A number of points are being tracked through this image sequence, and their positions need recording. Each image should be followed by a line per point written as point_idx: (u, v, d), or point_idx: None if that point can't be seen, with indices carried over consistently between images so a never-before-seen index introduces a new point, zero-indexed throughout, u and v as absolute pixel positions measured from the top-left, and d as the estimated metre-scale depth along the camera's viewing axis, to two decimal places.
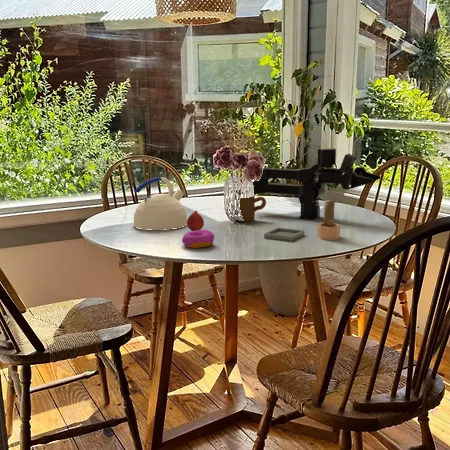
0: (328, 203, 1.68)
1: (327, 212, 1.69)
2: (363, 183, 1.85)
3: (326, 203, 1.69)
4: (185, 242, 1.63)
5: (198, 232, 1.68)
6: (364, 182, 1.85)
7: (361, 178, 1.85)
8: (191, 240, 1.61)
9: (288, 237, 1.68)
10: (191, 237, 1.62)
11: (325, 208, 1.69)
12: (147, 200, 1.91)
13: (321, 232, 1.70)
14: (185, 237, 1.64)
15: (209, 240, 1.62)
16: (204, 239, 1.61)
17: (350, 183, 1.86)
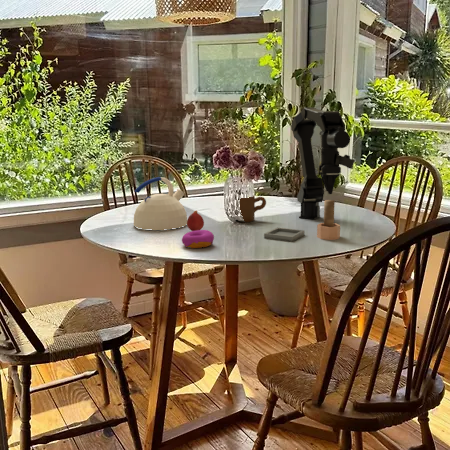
0: (328, 203, 1.68)
1: (327, 212, 1.69)
2: (327, 185, 1.79)
3: (326, 203, 1.69)
4: (185, 242, 1.63)
5: (198, 232, 1.68)
6: (328, 186, 1.79)
7: (332, 183, 1.79)
8: (191, 240, 1.61)
9: (288, 237, 1.68)
10: (191, 237, 1.62)
11: (325, 208, 1.69)
12: (147, 200, 1.91)
13: (321, 232, 1.70)
14: (185, 237, 1.63)
15: (209, 240, 1.62)
16: (204, 239, 1.61)
17: (328, 174, 1.76)
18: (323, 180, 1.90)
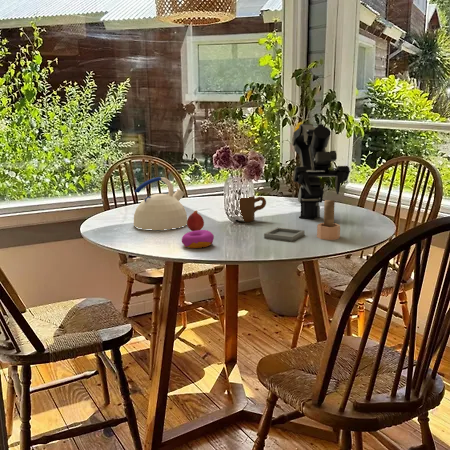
0: (328, 203, 1.68)
1: (327, 212, 1.69)
2: (306, 188, 1.80)
3: (326, 203, 1.69)
4: (185, 242, 1.63)
5: (198, 232, 1.68)
6: (306, 189, 1.79)
7: (306, 183, 1.79)
8: (191, 240, 1.61)
9: (288, 237, 1.68)
10: (191, 237, 1.62)
11: (325, 208, 1.69)
12: (147, 200, 1.91)
13: (321, 232, 1.70)
14: (185, 237, 1.63)
15: (209, 240, 1.62)
16: (204, 239, 1.61)
17: (298, 179, 1.82)
18: (335, 186, 1.81)
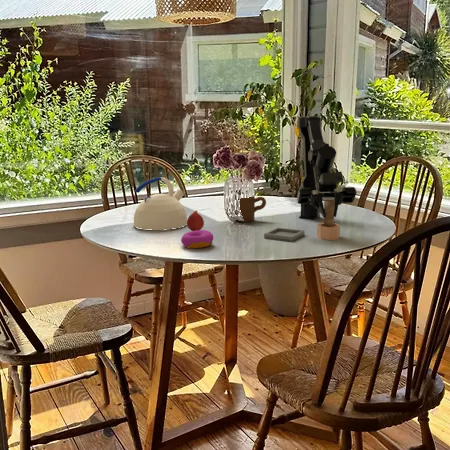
0: (328, 203, 1.68)
1: (327, 212, 1.69)
2: (319, 210, 1.72)
3: (326, 203, 1.69)
4: (184, 242, 1.63)
5: (197, 232, 1.67)
6: (320, 211, 1.71)
7: (319, 205, 1.71)
8: (190, 240, 1.61)
9: (288, 237, 1.68)
10: (190, 237, 1.62)
11: (325, 208, 1.69)
12: (147, 200, 1.91)
13: (321, 232, 1.70)
14: (184, 237, 1.63)
15: (208, 240, 1.62)
16: (203, 239, 1.61)
17: (311, 200, 1.74)
18: None
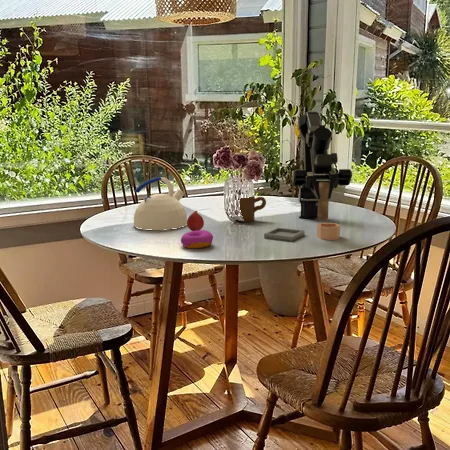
0: (322, 185, 1.67)
1: (321, 194, 1.68)
2: (314, 192, 1.71)
3: (320, 185, 1.67)
4: (184, 242, 1.62)
5: (197, 232, 1.67)
6: (314, 193, 1.70)
7: (313, 187, 1.69)
8: (190, 240, 1.61)
9: (288, 237, 1.68)
10: (190, 237, 1.62)
11: (319, 190, 1.68)
12: (147, 200, 1.91)
13: (321, 232, 1.70)
14: (184, 237, 1.63)
15: (208, 240, 1.62)
16: (203, 239, 1.61)
17: (306, 182, 1.73)
18: None
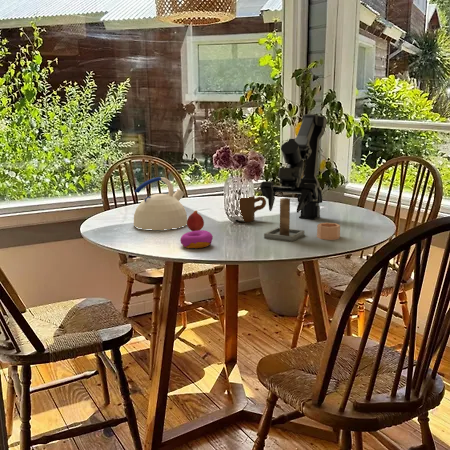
0: (281, 201, 1.70)
1: (281, 210, 1.71)
2: None
3: (280, 201, 1.71)
4: (183, 242, 1.62)
5: (196, 232, 1.67)
6: None
7: None
8: (189, 240, 1.61)
9: (288, 237, 1.68)
10: (189, 237, 1.62)
11: (280, 206, 1.71)
12: (147, 200, 1.91)
13: (321, 232, 1.70)
14: (183, 237, 1.63)
15: (207, 240, 1.62)
16: (202, 239, 1.61)
17: None
18: None
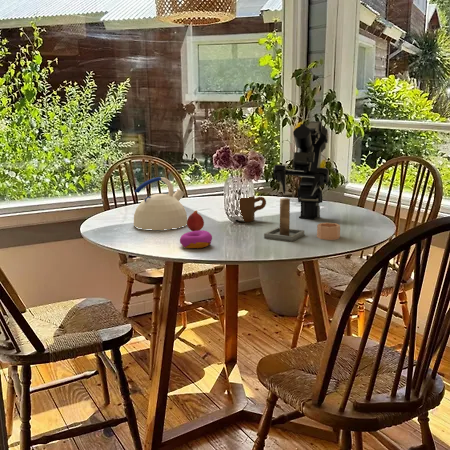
0: (281, 201, 1.70)
1: (281, 210, 1.71)
2: None
3: (280, 201, 1.71)
4: (183, 243, 1.62)
5: (196, 233, 1.67)
6: None
7: None
8: (189, 241, 1.61)
9: (288, 237, 1.68)
10: (189, 238, 1.61)
11: (280, 206, 1.72)
12: (147, 200, 1.91)
13: (321, 232, 1.70)
14: (183, 238, 1.63)
15: (207, 241, 1.61)
16: (202, 240, 1.61)
17: None
18: None
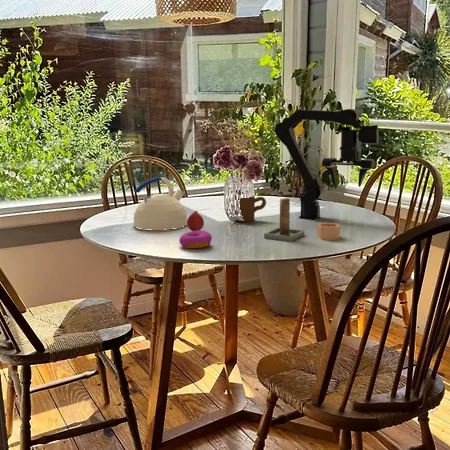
0: (281, 201, 1.70)
1: (280, 210, 1.71)
2: (361, 179, 1.92)
3: (280, 201, 1.71)
4: (182, 243, 1.62)
5: (195, 233, 1.67)
6: (361, 180, 1.93)
7: (363, 176, 1.93)
8: (188, 241, 1.61)
9: (288, 237, 1.68)
10: (188, 238, 1.61)
11: (280, 206, 1.72)
12: (147, 200, 1.91)
13: (321, 232, 1.70)
14: (182, 238, 1.63)
15: (206, 241, 1.61)
16: (201, 240, 1.61)
17: (368, 168, 1.90)
18: (333, 175, 1.97)
